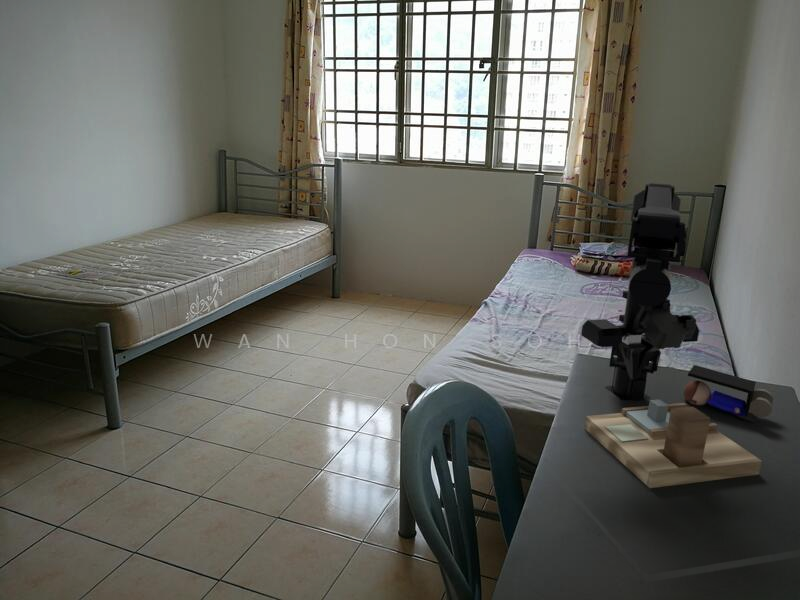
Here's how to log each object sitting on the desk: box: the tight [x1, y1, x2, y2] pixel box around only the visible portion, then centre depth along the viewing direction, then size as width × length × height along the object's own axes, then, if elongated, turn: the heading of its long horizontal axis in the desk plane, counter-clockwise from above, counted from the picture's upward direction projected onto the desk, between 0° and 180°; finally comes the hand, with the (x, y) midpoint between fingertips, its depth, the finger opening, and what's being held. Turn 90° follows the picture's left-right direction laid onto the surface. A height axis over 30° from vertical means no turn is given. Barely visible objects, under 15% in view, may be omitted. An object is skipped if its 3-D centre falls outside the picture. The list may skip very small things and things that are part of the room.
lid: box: [626, 399, 670, 433], centre depth 112 cm, size 7×8×4 cm
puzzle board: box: [584, 402, 762, 489], centre depth 108 cm, size 19×20×4 cm
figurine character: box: [683, 364, 774, 423], centre depth 124 cm, size 7×8×15 cm
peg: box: [663, 406, 711, 468], centre depth 100 cm, size 4×4×10 cm
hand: (633, 378), depth 108 cm, fingers closed
